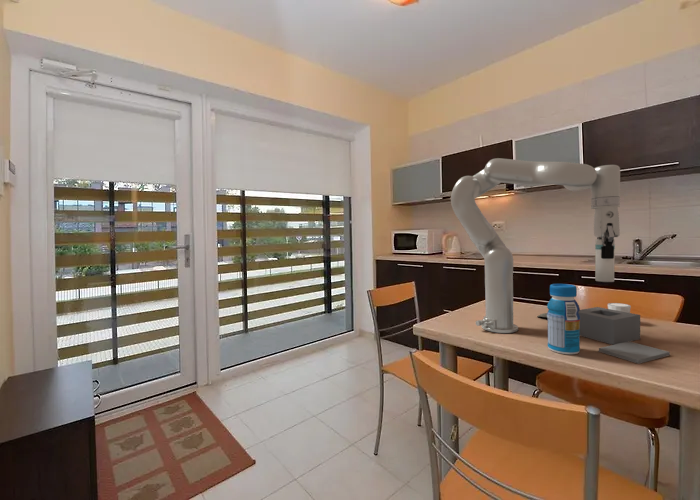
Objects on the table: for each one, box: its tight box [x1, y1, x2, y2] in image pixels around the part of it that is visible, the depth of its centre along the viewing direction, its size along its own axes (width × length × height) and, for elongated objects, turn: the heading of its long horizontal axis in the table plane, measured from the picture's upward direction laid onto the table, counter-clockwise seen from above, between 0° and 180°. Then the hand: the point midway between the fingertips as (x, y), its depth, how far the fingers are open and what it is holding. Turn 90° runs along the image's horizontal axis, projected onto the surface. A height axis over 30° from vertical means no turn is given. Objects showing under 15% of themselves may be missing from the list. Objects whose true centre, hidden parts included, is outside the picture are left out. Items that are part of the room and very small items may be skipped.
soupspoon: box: [536, 312, 547, 318], centre depth 125 cm, size 22×3×7 cm
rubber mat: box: [598, 341, 671, 364], centre depth 93 cm, size 14×10×1 cm
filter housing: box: [578, 306, 641, 345], centre depth 108 cm, size 13×13×8 cm
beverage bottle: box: [546, 283, 581, 355], centre depth 97 cm, size 8×8×20 cm
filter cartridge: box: [594, 238, 616, 283], centre depth 107 cm, size 5×5×14 cm
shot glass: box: [607, 302, 632, 313], centre depth 122 cm, size 7×7×7 cm
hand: (604, 257), depth 107 cm, fingers closed on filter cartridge, 5 cm apart
